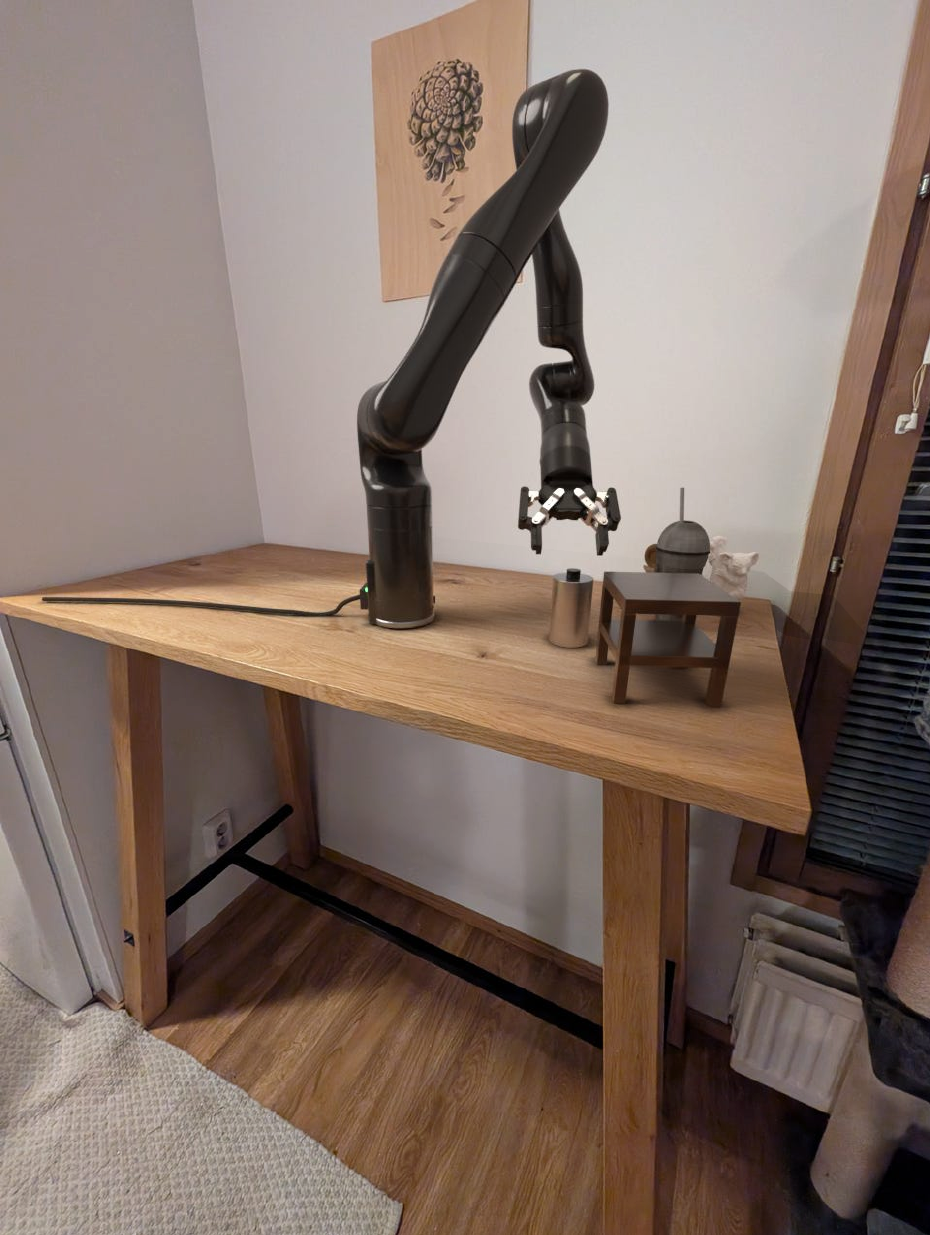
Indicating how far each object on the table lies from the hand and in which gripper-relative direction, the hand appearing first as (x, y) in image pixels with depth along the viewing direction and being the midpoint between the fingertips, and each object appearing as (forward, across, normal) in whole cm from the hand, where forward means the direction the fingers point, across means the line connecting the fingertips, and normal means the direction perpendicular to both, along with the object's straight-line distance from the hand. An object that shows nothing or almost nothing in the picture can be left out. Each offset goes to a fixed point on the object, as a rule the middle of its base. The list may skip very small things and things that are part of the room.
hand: (570, 552), depth 71 cm
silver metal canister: (+11, 0, +5) cm, 12 cm away
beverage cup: (+7, +16, +10) cm, 20 cm away
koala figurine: (+1, +26, +15) cm, 30 cm away
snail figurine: (0, +16, +16) cm, 23 cm away
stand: (+20, +8, -4) cm, 22 cm away
